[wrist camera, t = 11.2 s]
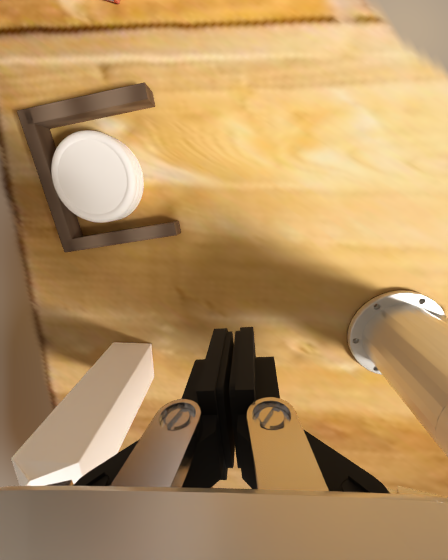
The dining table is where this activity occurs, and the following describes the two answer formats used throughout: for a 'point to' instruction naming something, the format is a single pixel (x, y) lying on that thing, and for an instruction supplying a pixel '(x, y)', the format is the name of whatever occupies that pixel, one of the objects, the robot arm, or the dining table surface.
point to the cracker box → (114, 1)
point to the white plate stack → (97, 176)
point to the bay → (43, 149)
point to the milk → (88, 418)
